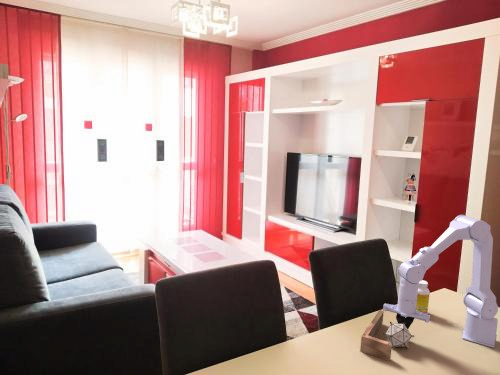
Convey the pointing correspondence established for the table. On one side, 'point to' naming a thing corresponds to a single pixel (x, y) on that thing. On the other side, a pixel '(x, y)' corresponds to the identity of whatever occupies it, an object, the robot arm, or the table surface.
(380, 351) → the l-shaped bracket
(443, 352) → the table surface
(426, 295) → the supplement bottle
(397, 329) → the game die
